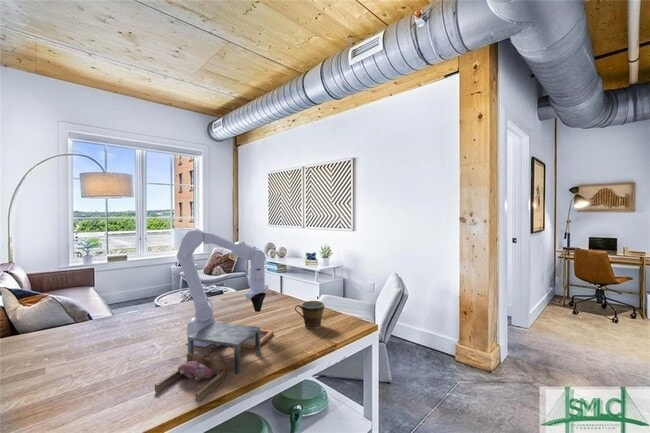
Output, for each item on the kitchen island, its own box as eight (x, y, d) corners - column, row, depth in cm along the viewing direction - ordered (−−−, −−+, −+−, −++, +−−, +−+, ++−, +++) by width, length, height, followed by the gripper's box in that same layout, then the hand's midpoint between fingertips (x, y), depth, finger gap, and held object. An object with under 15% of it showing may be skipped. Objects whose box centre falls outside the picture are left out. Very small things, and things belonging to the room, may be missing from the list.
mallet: (154, 391, 86) (154, 370, 86) (227, 340, 119) (227, 325, 119) (198, 401, 82) (198, 379, 82) (261, 346, 114) (261, 329, 114)
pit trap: (225, 345, 116) (225, 341, 116) (245, 330, 129) (245, 327, 129) (255, 349, 112) (255, 345, 112) (273, 334, 125) (273, 330, 125)
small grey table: (188, 364, 101) (187, 336, 101) (215, 346, 115) (214, 321, 114) (237, 374, 96) (237, 344, 95) (260, 353, 109) (259, 327, 109)
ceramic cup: (325, 322, 138) (325, 301, 137) (323, 332, 128) (323, 308, 127) (297, 321, 139) (297, 300, 139) (292, 330, 129) (292, 307, 129)
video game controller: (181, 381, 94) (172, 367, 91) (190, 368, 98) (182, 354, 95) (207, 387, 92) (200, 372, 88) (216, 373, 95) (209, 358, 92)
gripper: (257, 283, 117) (257, 318, 118) (274, 275, 131) (274, 306, 132) (241, 282, 119) (241, 316, 120) (259, 274, 133) (260, 304, 134)
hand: (257, 311), depth 126 cm, fingers closed
